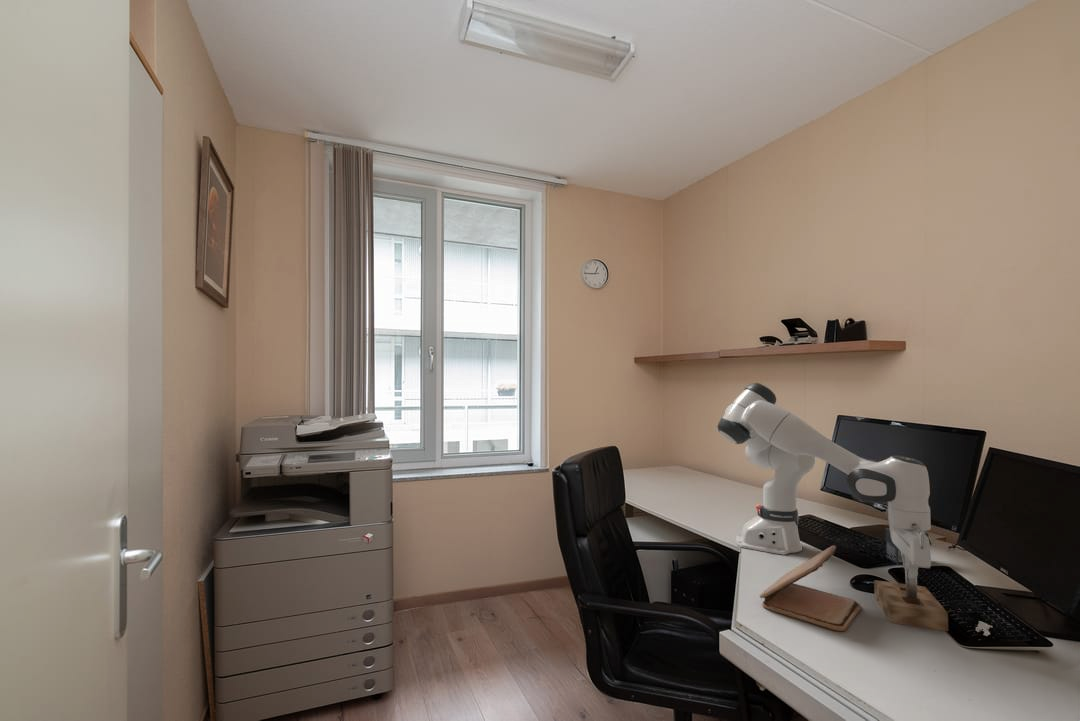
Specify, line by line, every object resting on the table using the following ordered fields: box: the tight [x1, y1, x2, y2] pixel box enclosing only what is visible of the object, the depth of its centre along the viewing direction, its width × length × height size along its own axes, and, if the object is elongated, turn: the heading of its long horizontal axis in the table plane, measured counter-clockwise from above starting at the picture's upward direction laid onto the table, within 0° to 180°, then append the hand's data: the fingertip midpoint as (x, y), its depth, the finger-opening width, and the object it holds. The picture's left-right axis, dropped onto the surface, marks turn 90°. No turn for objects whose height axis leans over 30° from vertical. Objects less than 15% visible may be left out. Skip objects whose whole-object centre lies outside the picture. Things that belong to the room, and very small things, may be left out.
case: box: [759, 545, 862, 632], centre depth 135 cm, size 20×21×16 cm
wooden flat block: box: [873, 579, 949, 632], centre depth 131 cm, size 12×16×4 cm
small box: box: [885, 527, 929, 565], centre depth 166 cm, size 11×6×10 cm, turn 84°
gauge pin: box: [904, 557, 918, 599], centre depth 128 cm, size 2×2×11 cm
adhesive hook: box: [975, 620, 993, 637], centre depth 120 cm, size 3×3×3 cm
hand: (910, 572), depth 128 cm, fingers closed on gauge pin, 2 cm apart
